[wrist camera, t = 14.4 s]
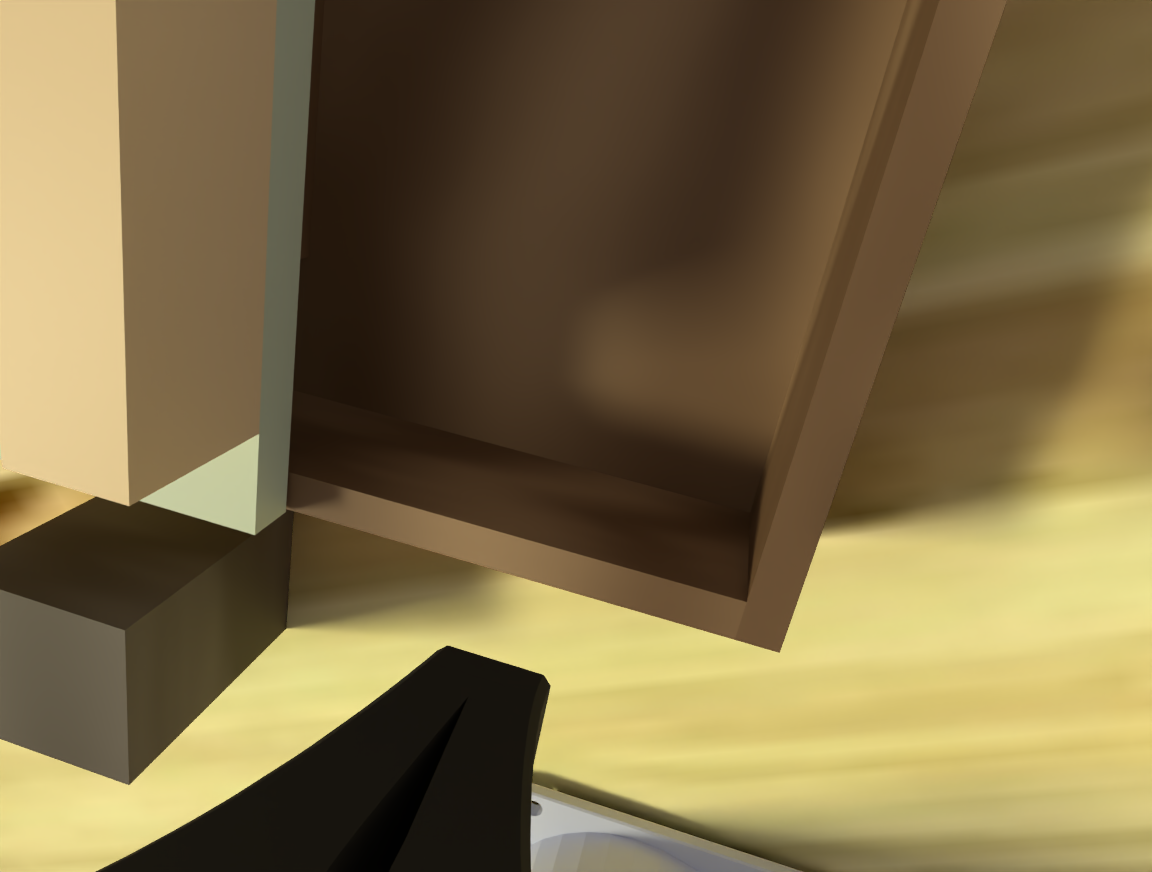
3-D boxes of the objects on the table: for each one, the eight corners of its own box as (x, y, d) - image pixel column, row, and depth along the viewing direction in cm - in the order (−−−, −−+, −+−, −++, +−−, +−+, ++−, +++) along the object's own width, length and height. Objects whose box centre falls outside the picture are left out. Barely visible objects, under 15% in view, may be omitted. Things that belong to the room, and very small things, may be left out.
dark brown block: (294, 503, 21) (124, 630, 15) (286, 628, 22) (128, 784, 17) (159, 464, 21) (-52, 572, 16) (160, 588, 23) (-33, 727, 17)
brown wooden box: (1016, -204, 13) (1136, -373, 9) (776, 537, 18) (779, 652, 14) (56, -335, 15) (-207, -516, 11) (87, 351, 20) (-84, 401, 16)
